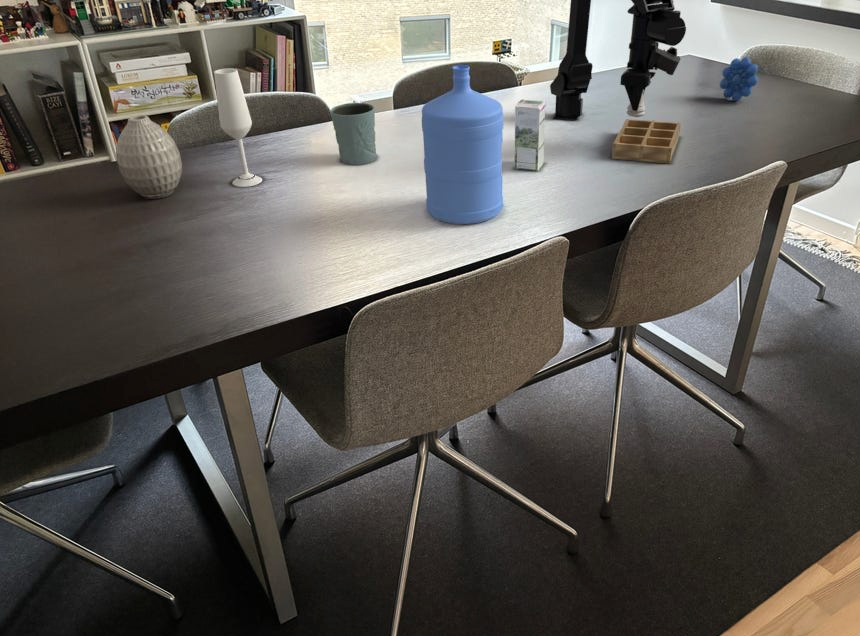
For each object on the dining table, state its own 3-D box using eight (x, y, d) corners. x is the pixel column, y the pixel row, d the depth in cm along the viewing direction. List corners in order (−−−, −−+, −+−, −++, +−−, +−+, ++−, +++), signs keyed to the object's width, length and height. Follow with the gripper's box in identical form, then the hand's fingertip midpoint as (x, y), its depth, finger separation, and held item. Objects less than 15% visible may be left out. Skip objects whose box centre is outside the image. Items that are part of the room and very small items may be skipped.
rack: (611, 158, 176) (612, 143, 174) (625, 133, 192) (626, 118, 190) (669, 163, 172) (671, 148, 170) (678, 137, 188) (680, 122, 186)
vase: (131, 209, 158) (108, 130, 149) (124, 190, 167) (101, 114, 158) (193, 197, 163) (175, 120, 153) (183, 179, 172) (164, 105, 163)
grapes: (762, 102, 211) (771, 57, 204) (747, 107, 207) (755, 61, 201) (727, 94, 219) (734, 50, 212) (712, 98, 215) (719, 54, 208)
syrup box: (544, 163, 175) (546, 99, 167) (537, 172, 170) (539, 107, 162) (520, 161, 176) (521, 98, 168) (513, 169, 172) (514, 105, 164)
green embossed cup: (387, 158, 180) (383, 107, 174) (355, 169, 174) (349, 117, 168) (360, 149, 186) (354, 100, 180) (327, 160, 180) (321, 109, 174)
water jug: (478, 232, 144) (475, 81, 129) (411, 216, 152) (401, 72, 136) (516, 204, 155) (519, 62, 139) (453, 190, 162) (448, 54, 146)
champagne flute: (252, 173, 174) (231, 65, 160) (268, 180, 170) (248, 70, 156) (226, 181, 170) (203, 71, 157) (242, 189, 166) (219, 76, 153)
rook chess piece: (646, 117, 177) (650, 82, 172) (627, 117, 177) (631, 82, 172) (643, 111, 180) (647, 77, 176) (624, 111, 181) (628, 77, 176)
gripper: (676, 48, 159) (666, 122, 168) (684, 30, 174) (675, 99, 183) (623, 45, 163) (616, 118, 171) (636, 28, 177) (629, 96, 186)
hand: (636, 107), depth 178 cm, fingers closed on rook chess piece, 4 cm apart
